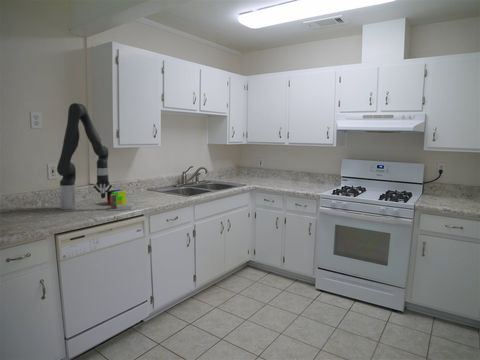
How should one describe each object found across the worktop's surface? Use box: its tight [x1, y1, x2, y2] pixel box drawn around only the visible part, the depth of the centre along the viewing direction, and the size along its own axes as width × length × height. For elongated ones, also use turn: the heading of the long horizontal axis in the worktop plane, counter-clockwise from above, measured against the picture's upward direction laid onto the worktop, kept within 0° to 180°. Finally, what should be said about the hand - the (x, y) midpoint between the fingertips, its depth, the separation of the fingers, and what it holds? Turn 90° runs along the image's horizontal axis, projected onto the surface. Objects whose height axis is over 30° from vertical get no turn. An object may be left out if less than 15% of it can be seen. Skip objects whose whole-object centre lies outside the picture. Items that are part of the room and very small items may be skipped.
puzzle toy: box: [106, 189, 127, 206], centre depth 254 cm, size 10×10×10 cm
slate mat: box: [107, 205, 132, 212], centre depth 238 cm, size 16×12×1 cm
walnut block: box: [110, 194, 118, 209], centre depth 236 cm, size 4×4×10 cm
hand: (103, 198), depth 234 cm, fingers closed
